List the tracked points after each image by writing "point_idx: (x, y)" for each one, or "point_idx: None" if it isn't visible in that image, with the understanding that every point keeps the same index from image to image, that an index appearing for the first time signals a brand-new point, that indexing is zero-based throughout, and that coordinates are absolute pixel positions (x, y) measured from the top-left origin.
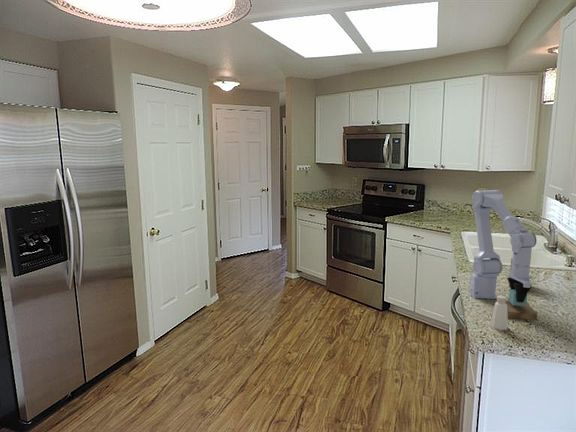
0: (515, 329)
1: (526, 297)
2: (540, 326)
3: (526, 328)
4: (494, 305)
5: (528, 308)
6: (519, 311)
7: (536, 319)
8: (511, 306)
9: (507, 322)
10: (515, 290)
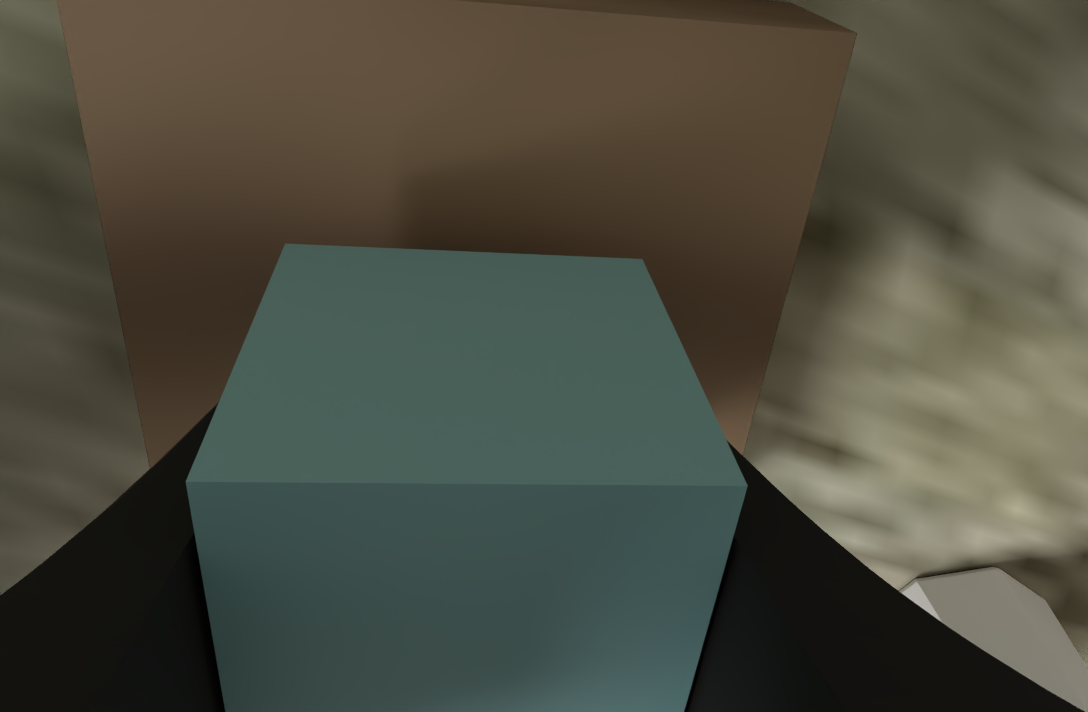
0: (1058, 495)
1: (700, 414)
2: (1081, 81)
3: (1076, 350)
4: None
5: (549, 119)
6: (725, 387)
7: (795, 5)
8: None
9: (1044, 638)
10: (345, 709)
